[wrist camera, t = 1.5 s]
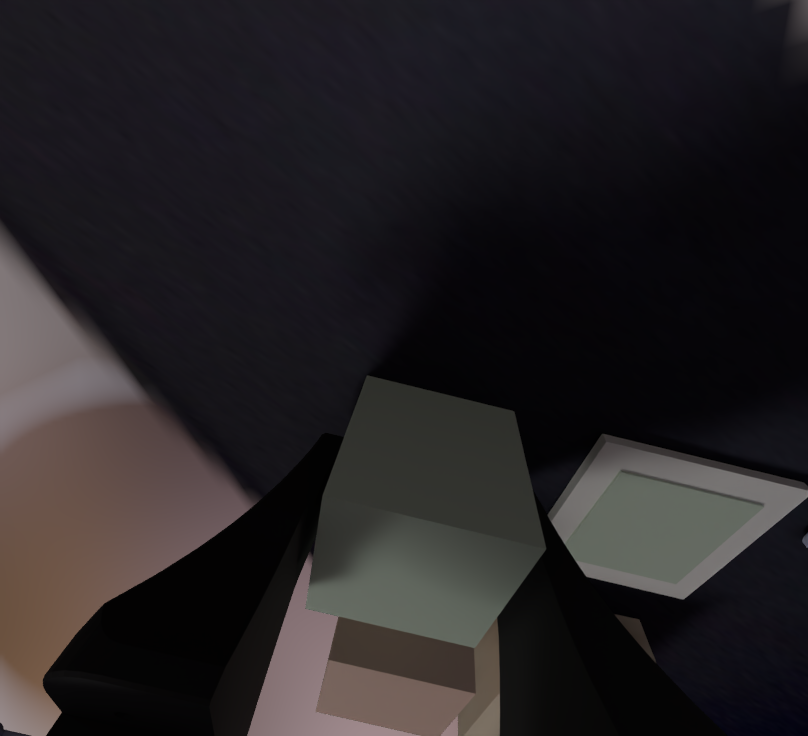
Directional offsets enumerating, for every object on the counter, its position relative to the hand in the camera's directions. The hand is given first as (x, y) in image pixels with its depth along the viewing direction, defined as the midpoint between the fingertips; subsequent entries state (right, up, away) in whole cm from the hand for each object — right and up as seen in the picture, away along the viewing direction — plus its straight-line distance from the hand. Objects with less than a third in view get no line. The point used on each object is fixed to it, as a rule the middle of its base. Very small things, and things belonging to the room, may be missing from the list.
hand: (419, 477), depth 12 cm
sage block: (0, +1, +1) cm, 2 cm away
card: (+9, -2, +2) cm, 9 cm away
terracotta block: (-1, -6, +6) cm, 8 cm away
